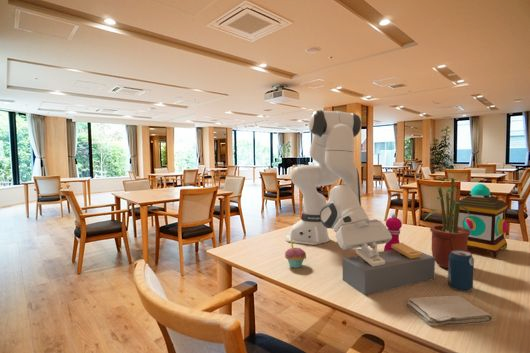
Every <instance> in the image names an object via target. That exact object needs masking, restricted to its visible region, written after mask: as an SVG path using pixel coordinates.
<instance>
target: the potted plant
mask: <svg viewBox="0 0 530 353" xmlns="http://www.w3.org/2000/svg"><path fill="white" fill-rule="evenodd" d="M449 180H450V181H451V183H450V188H448V189H446V190H444V193H445V194H444V193H443V190H442V187H441V185H438V188H437V191H438V195H439V196H438V197H436V201H438V200H440V201H439V202H440V209H441V216H442V217H441V218H442V224H434V225H431V226H430V227H429V230H430V232H431V254H432V255H431V256H433V257H435V264H437V265H439V267H441V268H444V269H447V270H448V263H449V254H450V253H451V250H464V251H468V247H467V244H468V236H469V235H470V230H468V229H466V228H463V227H458V219H459V209H460V207H461V208H463V209H465V210H466V211H467V212H468V214H469V210H468V209H466V208H465V207H464V206H460V202H457V200H461V199H462V198H460V199H459V198H458V199H454V194H455V192H458V189H455V178H453V177H448V178H446V179H445V180H444V181H443V183H445V182H446V181H449ZM444 197H445V200H444ZM455 200H456V201H455ZM444 202H446V204H445V203H444ZM453 204H455V207H454V206H453ZM445 205H446V211H445ZM437 212H440V210H439V209H436V210H432V211H431V212H429V213H428V215H427V216H425V217H424V219H423V221H425V220H426V219H427V218H428V217H429V216H431V215H433V214H435V213H437ZM453 218H454V219H453Z"/></svg>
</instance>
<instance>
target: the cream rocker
mask: <svg viewBox="0 0 530 353" xmlns="http://www.w3.org/2000/svg"><path fill="white" fill-rule="evenodd" d="M355 253H356V254H357V256H360V257H362V258H363V259H364V260H365V261H367V262H368V263H369V264H370V265H371V266H379V265H384V264H385V260H383V259H382V258H381V257H379V256H378V257H373V258H369V256H368V254H367V253H366V252H364V251H363V250H362V248H359V249H358V248H356V250H355Z"/></svg>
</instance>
